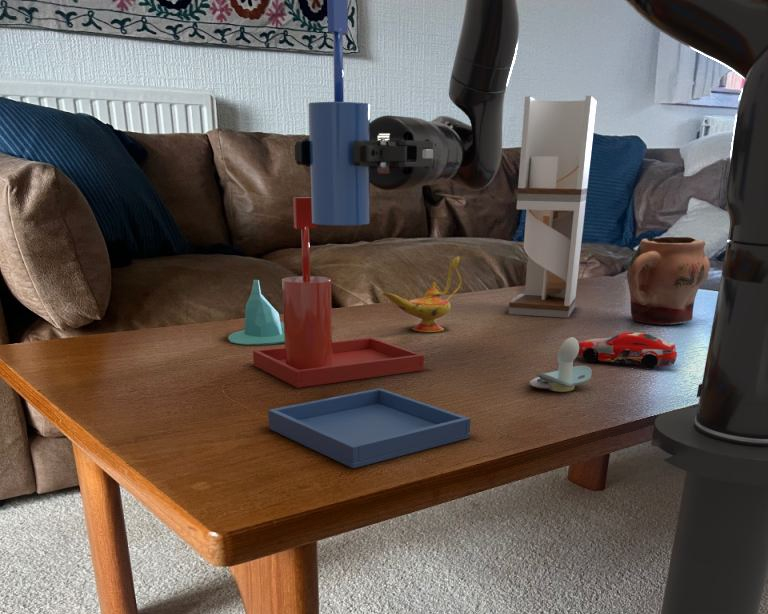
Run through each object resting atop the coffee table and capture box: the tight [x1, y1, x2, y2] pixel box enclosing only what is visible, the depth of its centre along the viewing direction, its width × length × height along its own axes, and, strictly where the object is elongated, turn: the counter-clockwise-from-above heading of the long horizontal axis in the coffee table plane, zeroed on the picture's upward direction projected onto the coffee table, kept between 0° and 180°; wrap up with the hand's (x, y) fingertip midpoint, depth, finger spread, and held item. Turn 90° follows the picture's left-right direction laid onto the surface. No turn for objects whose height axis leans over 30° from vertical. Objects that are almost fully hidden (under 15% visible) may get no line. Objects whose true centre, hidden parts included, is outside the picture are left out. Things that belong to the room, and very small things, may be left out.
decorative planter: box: [626, 236, 711, 325], centre depth 133 cm, size 20×12×14 cm, turn 137°
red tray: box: [252, 337, 425, 389], centre depth 102 cm, size 18×13×2 cm
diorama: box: [227, 279, 285, 346], centre depth 121 cm, size 12×20×9 cm, turn 149°
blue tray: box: [267, 387, 471, 469], centre depth 77 cm, size 14×14×2 cm
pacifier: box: [529, 336, 593, 393], centre depth 93 cm, size 7×6×6 cm
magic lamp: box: [378, 256, 462, 333], centre depth 124 cm, size 7×18×11 cm, turn 132°
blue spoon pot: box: [307, 0, 371, 227], centre depth 77 cm, size 6×6×20 cm
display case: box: [508, 95, 598, 319], centre depth 138 cm, size 11×11×35 cm
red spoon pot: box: [281, 196, 333, 370], centre depth 96 cm, size 6×6×20 cm
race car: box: [577, 331, 678, 370], centre depth 106 cm, size 13×5×4 cm, turn 64°
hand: (327, 153), depth 76 cm, fingers closed on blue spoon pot, 6 cm apart
